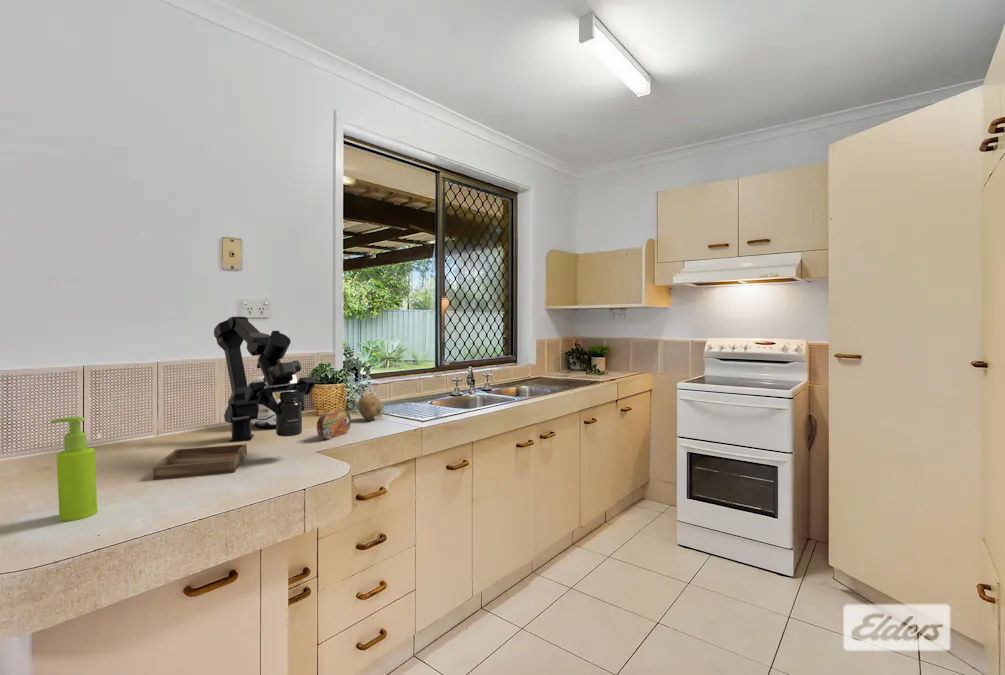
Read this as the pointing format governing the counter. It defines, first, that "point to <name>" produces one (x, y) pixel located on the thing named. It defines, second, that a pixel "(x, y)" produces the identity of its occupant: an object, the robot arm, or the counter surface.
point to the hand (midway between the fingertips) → (291, 411)
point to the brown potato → (369, 406)
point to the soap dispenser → (76, 474)
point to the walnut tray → (200, 461)
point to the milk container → (265, 414)
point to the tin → (333, 424)
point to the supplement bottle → (289, 415)
